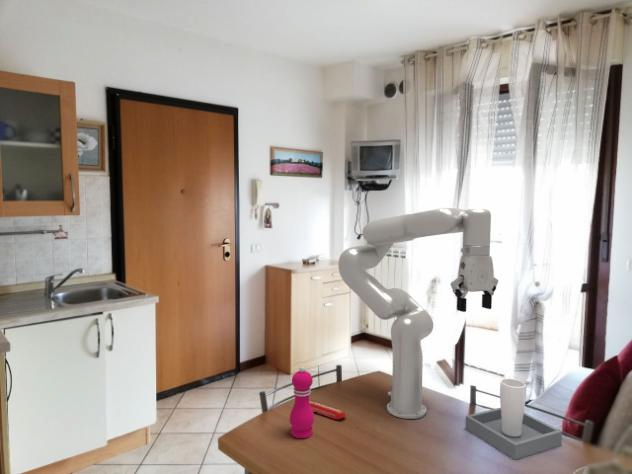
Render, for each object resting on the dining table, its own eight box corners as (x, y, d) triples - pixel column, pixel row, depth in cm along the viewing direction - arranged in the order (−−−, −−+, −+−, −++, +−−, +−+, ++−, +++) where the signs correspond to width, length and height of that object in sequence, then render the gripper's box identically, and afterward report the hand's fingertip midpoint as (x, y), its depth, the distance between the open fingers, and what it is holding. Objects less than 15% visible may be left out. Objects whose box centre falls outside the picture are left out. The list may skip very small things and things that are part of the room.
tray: (465, 428, 132) (465, 415, 132) (509, 417, 140) (509, 405, 139) (515, 460, 116) (515, 445, 116) (561, 445, 123) (562, 431, 123)
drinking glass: (527, 440, 124) (528, 388, 123) (501, 438, 125) (503, 386, 124) (520, 429, 130) (522, 379, 129) (496, 426, 132) (498, 377, 131)
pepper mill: (284, 433, 128) (284, 366, 127) (301, 425, 133) (302, 360, 132) (301, 442, 123) (302, 372, 122) (319, 433, 129) (320, 366, 127)
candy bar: (347, 419, 138) (347, 409, 138) (341, 423, 135) (341, 414, 135) (306, 405, 148) (306, 397, 147) (299, 409, 145) (299, 400, 144)
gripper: (462, 253, 121) (460, 315, 122) (508, 251, 129) (505, 309, 130) (443, 251, 128) (442, 309, 129) (488, 249, 135) (486, 304, 136)
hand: (474, 309), depth 129 cm, fingers open, 9 cm apart
